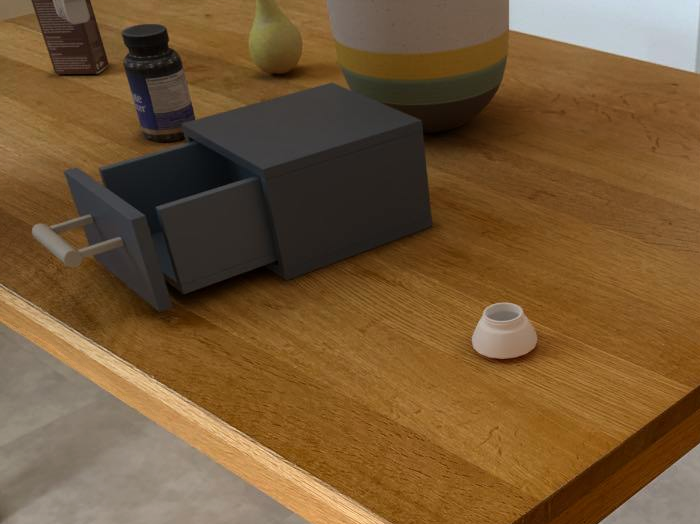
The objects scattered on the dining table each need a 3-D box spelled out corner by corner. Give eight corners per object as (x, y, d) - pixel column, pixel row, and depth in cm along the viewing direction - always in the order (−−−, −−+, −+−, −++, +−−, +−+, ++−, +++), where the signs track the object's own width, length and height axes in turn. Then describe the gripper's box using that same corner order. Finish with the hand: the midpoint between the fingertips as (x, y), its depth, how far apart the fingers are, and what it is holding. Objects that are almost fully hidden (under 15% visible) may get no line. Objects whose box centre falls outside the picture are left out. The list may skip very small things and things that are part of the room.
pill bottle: (139, 130, 117) (109, 26, 109) (191, 120, 119) (166, 18, 111) (149, 147, 113) (119, 41, 105) (204, 136, 115) (178, 31, 107)
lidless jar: (541, 359, 77) (532, 327, 80) (540, 325, 75) (530, 293, 78) (476, 366, 76) (469, 333, 80) (473, 331, 74) (467, 299, 78)
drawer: (101, 333, 80) (67, 239, 74) (38, 276, 87) (4, 187, 82) (314, 256, 89) (297, 167, 84) (240, 210, 97) (220, 126, 91)
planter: (548, 113, 117) (543, -102, 103) (444, 169, 105) (423, -65, 91) (418, 86, 126) (398, -116, 112) (309, 135, 114) (271, -84, 100)
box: (111, 65, 136) (81, -36, 128) (97, 75, 133) (66, -27, 125) (68, 65, 136) (36, -35, 129) (53, 75, 133) (19, -27, 125)
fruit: (310, 64, 134) (293, -38, 126) (300, 82, 128) (282, -23, 120) (260, 66, 134) (240, -36, 126) (248, 84, 128) (226, -21, 120)
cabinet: (286, 281, 88) (262, 169, 81) (207, 228, 96) (180, 123, 90) (432, 226, 95) (422, 120, 89) (347, 182, 104) (332, 82, 97)
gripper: (-67, -183, 82) (-3, 4, 91) (19, -159, 70) (83, 53, 79) (11, -190, 85) (66, -9, 94) (106, -169, 73) (158, 36, 82)
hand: (74, 20), depth 87 cm, fingers closed
